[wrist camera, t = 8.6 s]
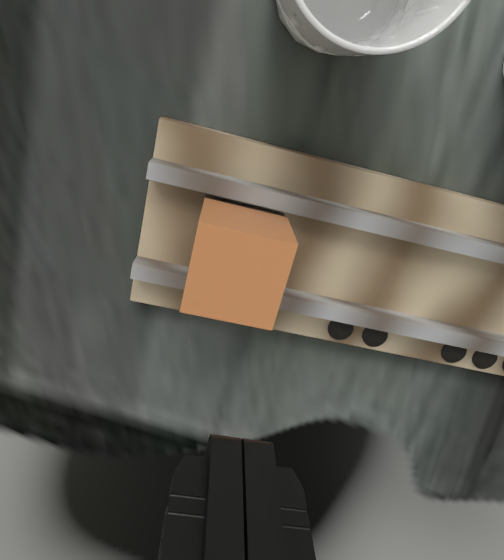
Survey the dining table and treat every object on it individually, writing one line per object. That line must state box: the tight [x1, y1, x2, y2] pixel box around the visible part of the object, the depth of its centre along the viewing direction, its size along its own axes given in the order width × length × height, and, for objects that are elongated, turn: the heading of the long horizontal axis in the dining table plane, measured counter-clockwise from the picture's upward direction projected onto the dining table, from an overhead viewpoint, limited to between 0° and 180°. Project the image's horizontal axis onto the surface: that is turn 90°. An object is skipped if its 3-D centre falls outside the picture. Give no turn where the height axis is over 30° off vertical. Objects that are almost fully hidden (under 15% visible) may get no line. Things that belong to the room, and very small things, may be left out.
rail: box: [130, 117, 504, 376], centre depth 30 cm, size 32×12×3 cm, turn 76°
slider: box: [180, 195, 298, 331], centre depth 26 cm, size 5×5×7 cm
